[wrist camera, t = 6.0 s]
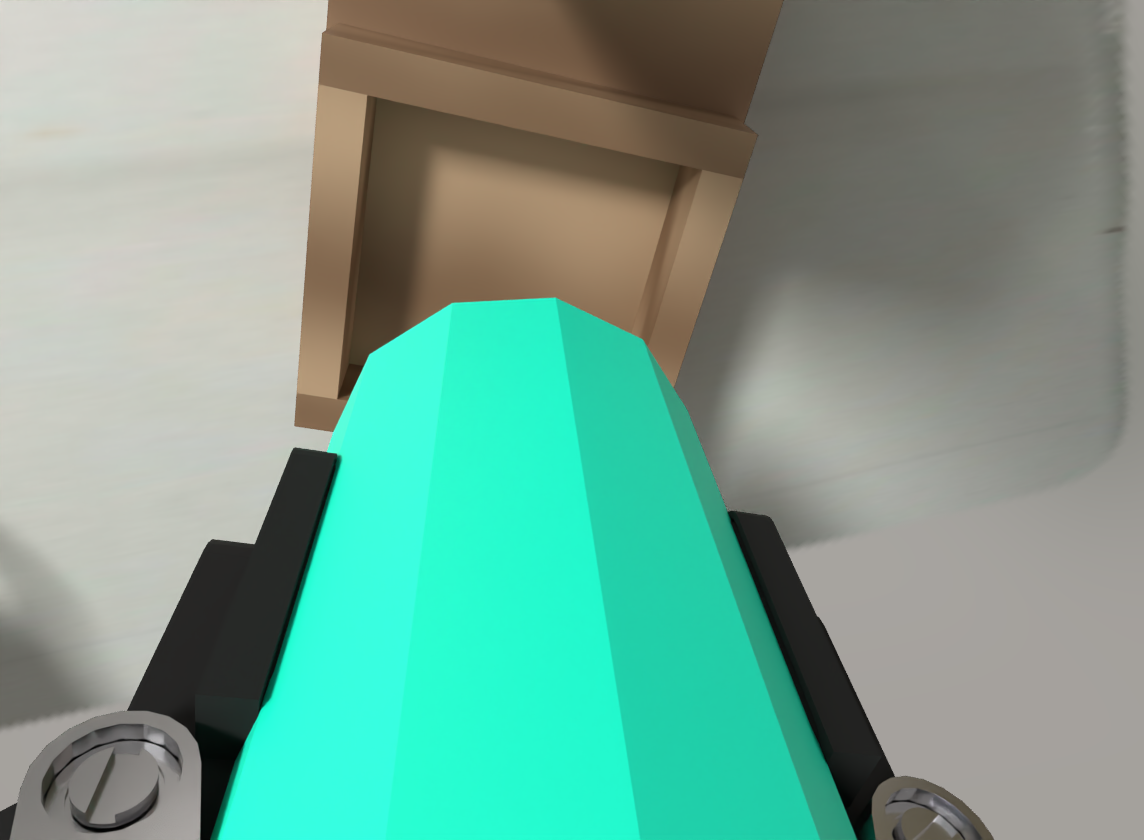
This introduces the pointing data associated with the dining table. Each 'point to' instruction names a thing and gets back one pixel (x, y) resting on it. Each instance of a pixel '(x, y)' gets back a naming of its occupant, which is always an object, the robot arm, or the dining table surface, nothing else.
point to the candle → (526, 613)
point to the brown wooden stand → (521, 167)
